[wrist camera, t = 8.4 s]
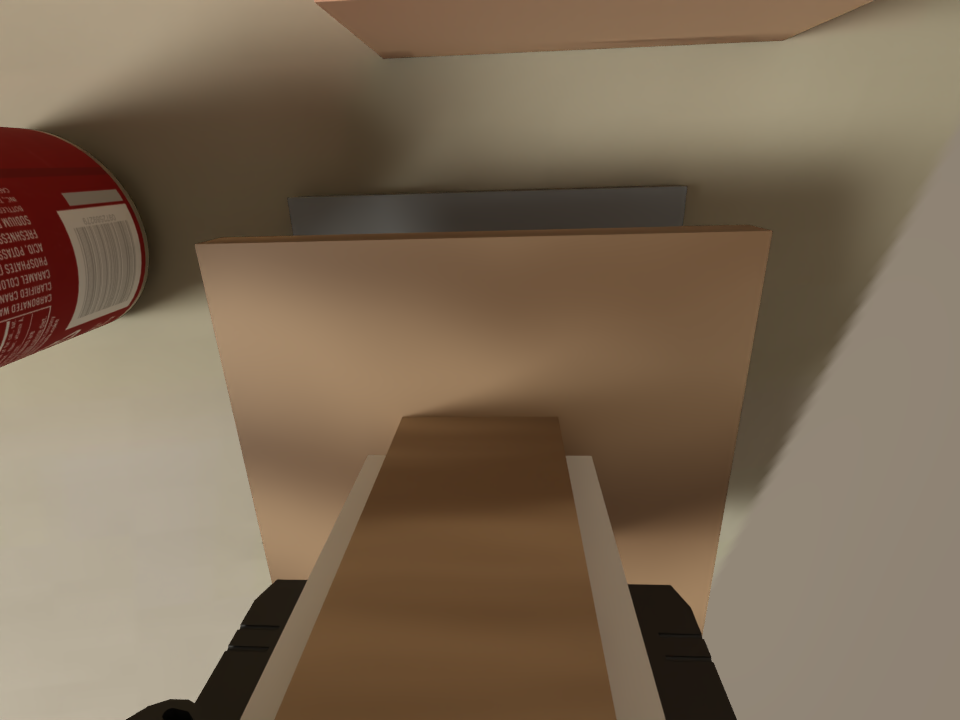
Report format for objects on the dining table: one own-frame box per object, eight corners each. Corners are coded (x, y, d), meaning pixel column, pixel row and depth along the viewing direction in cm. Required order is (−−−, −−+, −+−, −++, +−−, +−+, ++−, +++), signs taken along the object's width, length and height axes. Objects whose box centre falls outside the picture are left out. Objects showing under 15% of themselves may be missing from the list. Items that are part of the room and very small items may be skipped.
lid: (221, 237, 13) (-352, 383, 4) (748, 224, 12) (1333, 372, 4) (301, 619, 18) (103, 1054, 9) (685, 628, 17) (868, 1114, 8)
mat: (294, 196, 17) (287, 197, 17) (681, 185, 17) (687, 186, 16) (346, 527, 22) (342, 536, 22) (643, 530, 22) (647, 539, 21)
